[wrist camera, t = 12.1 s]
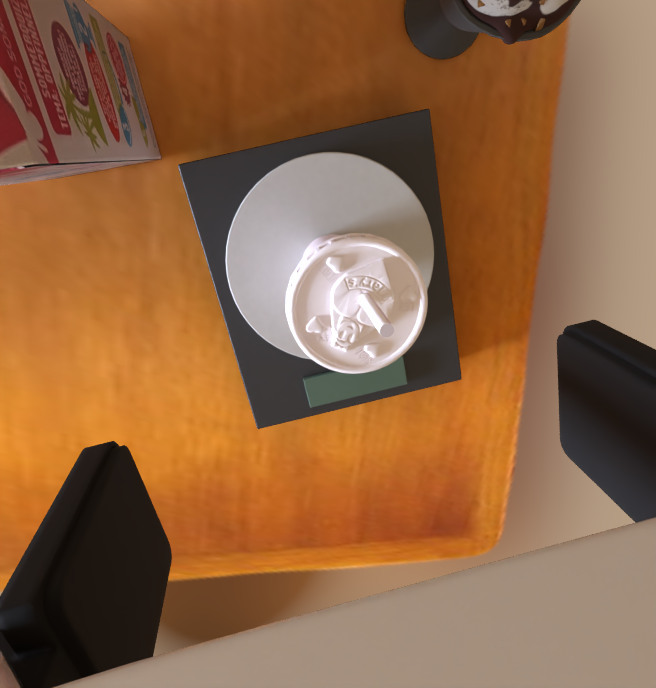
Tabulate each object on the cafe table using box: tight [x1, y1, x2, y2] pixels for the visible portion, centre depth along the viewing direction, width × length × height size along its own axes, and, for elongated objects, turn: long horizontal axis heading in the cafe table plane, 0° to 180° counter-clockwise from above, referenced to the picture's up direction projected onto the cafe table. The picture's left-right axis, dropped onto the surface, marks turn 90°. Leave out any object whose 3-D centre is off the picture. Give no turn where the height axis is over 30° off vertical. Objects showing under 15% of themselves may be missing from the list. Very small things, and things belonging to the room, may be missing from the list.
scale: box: [178, 109, 461, 429], centre depth 33 cm, size 18×15×4 cm
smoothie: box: [286, 233, 428, 374], centre depth 25 cm, size 6×6×14 cm
